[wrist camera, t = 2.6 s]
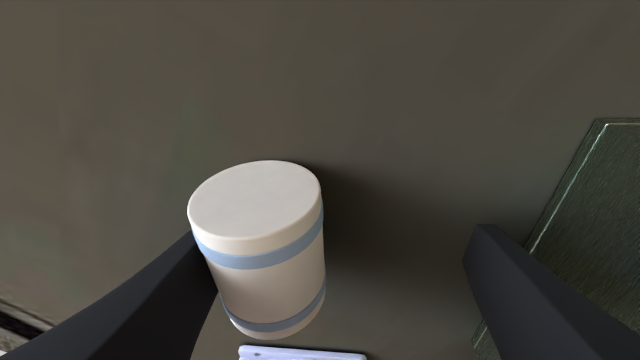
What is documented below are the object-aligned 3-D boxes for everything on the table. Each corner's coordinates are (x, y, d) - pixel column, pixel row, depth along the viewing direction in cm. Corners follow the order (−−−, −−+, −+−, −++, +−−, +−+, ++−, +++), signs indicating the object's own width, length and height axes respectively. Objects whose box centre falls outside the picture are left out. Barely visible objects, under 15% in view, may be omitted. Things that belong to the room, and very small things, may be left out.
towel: (346, 284, 12) (282, 238, 15) (349, 185, 9) (267, 149, 12) (269, 370, 9) (206, 294, 12) (235, 268, 6) (161, 196, 9)
